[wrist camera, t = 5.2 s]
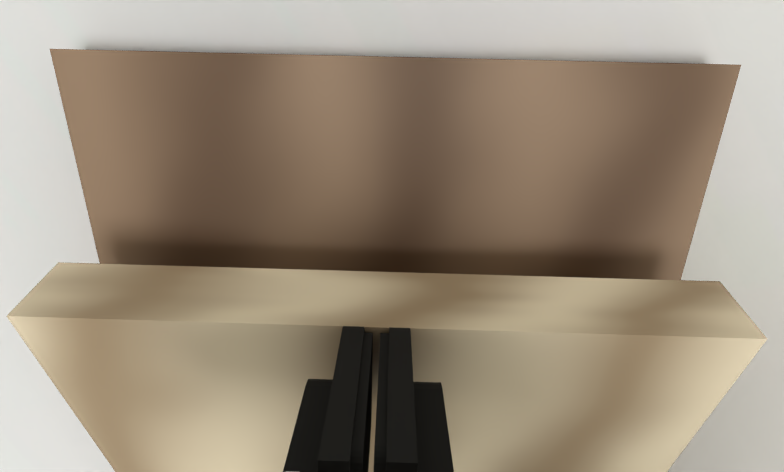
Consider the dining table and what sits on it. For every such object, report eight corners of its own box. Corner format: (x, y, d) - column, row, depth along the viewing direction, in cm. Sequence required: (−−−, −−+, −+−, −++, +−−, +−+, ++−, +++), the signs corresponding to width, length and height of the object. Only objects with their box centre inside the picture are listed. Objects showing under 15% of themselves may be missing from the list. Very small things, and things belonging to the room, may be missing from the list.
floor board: (706, 64, 14) (801, 65, 10) (584, 540, 21) (617, 627, 18) (84, 50, 14) (-12, 47, 11) (184, 526, 22) (145, 609, 18)
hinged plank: (719, 281, 12) (767, 339, 11) (624, 440, 17) (647, 497, 15) (58, 262, 12) (6, 316, 11) (147, 425, 17) (120, 478, 16)
